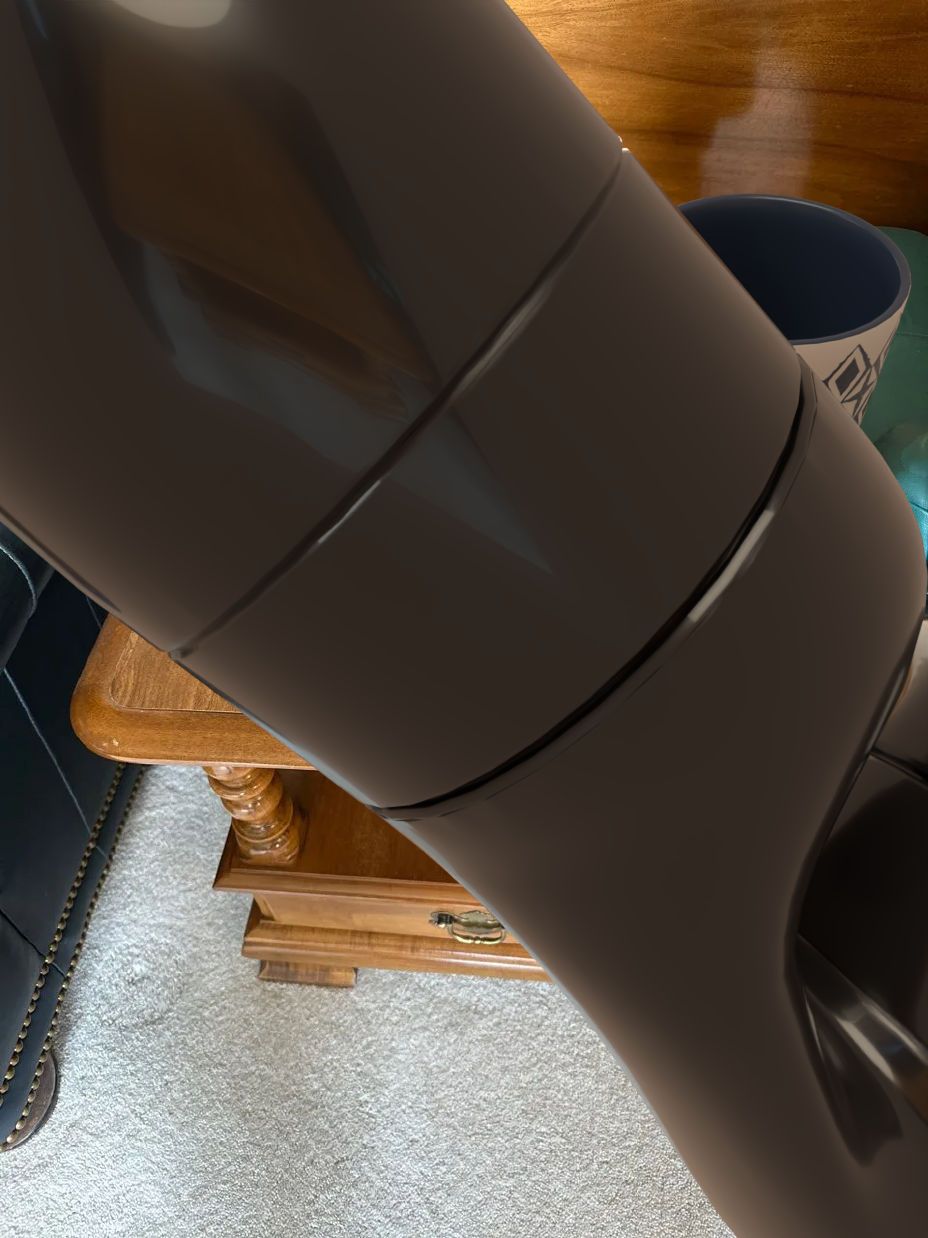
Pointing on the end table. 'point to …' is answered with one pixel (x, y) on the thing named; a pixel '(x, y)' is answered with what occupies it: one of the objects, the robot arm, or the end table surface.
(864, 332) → the planter
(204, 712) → the end table surface
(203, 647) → the robot arm
